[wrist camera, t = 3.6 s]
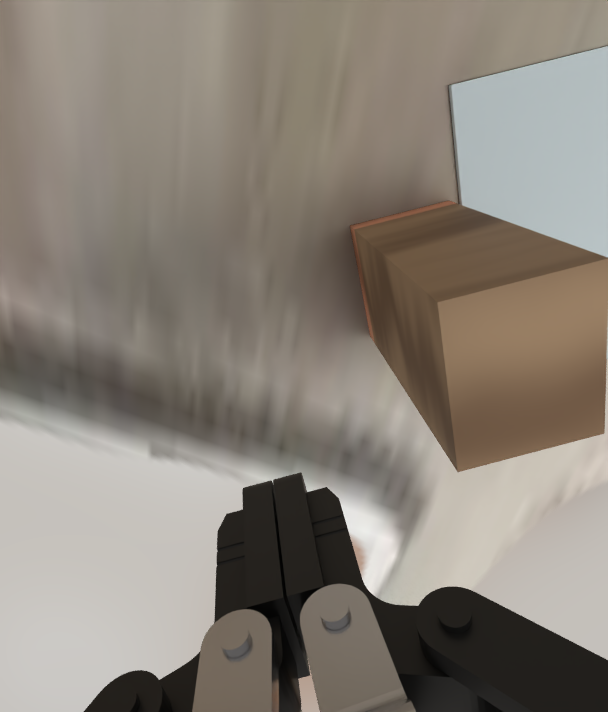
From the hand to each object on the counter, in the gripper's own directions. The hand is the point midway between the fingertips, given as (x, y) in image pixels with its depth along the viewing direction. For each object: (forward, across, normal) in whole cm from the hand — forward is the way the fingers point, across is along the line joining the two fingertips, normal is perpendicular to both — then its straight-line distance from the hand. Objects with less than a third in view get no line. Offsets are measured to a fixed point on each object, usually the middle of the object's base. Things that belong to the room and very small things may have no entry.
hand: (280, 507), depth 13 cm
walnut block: (+15, -8, 0) cm, 17 cm away
